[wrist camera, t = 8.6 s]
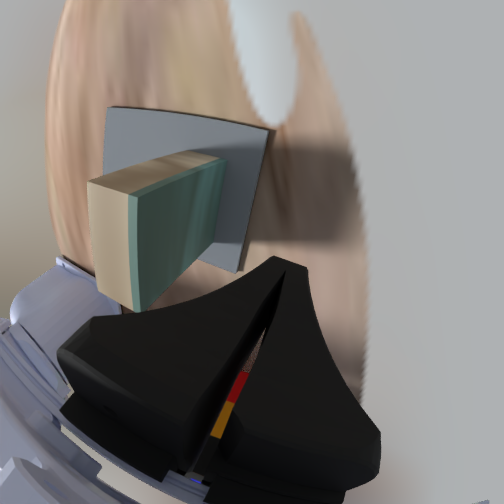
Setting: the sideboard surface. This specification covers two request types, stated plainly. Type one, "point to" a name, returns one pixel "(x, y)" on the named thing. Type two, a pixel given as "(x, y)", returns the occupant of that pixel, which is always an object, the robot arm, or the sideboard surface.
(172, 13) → the sideboard surface
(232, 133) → the mat
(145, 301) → the tile
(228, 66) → the sideboard surface
